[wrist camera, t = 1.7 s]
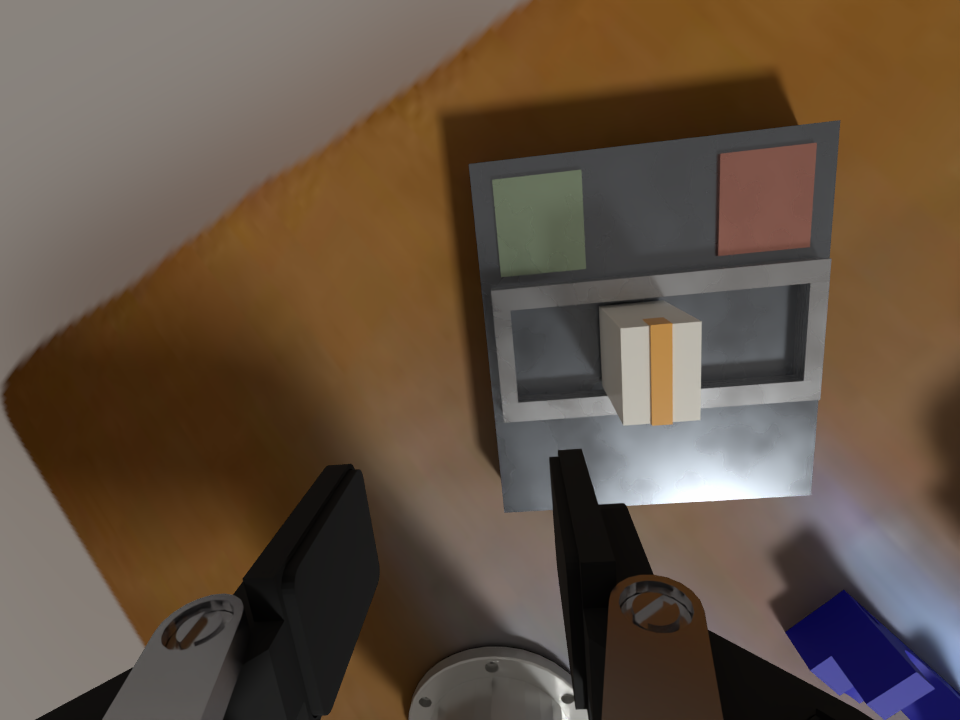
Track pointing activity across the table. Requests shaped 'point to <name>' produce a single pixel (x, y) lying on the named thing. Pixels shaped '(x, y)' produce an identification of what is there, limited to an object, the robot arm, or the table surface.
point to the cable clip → (871, 663)
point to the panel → (654, 277)
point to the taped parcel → (651, 362)
